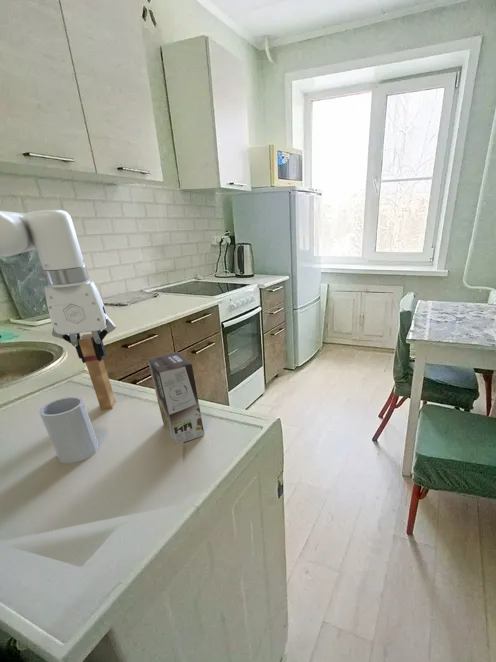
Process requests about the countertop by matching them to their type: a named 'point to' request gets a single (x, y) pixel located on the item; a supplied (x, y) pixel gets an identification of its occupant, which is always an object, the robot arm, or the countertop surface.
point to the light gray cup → (69, 429)
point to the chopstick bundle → (97, 373)
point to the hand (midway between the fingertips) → (93, 359)
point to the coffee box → (177, 396)
